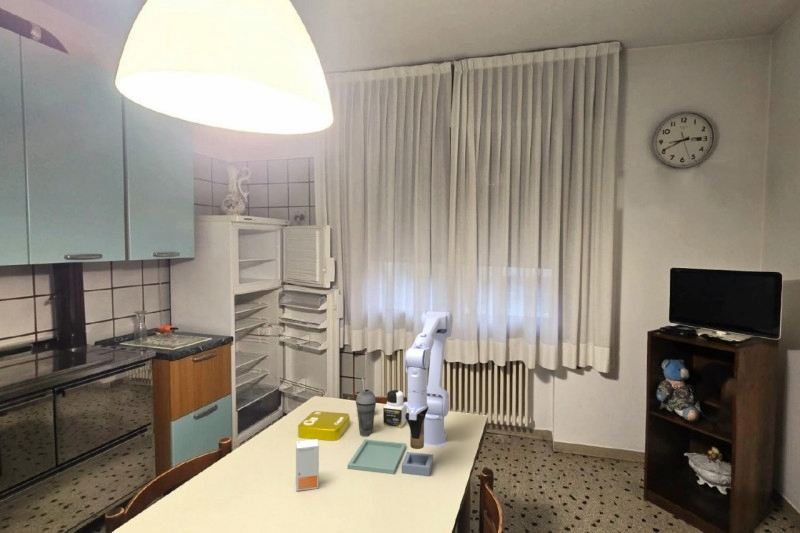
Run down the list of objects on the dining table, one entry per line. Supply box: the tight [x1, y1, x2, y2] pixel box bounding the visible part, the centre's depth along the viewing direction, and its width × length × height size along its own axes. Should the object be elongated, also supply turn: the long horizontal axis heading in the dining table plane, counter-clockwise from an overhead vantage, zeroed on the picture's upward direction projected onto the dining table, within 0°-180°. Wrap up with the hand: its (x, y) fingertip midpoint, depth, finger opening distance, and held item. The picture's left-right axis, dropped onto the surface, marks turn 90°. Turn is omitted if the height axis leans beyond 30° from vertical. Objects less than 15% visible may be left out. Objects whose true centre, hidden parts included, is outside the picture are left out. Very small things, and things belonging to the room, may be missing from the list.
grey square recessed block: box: [401, 451, 434, 477], centre depth 123 cm, size 8×8×3 cm
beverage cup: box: [355, 377, 377, 437], centre depth 147 cm, size 7×7×20 cm
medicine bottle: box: [382, 389, 408, 429], centre depth 156 cm, size 7×7×12 cm
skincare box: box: [295, 439, 320, 492], centre depth 114 cm, size 6×4×12 cm
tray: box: [347, 439, 407, 475], centre depth 129 cm, size 17×14×2 cm
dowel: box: [409, 413, 425, 450], centre depth 123 cm, size 4×4×9 cm
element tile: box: [297, 410, 351, 442], centre depth 150 cm, size 15×15×5 cm
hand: (417, 434), depth 123 cm, fingers closed on dowel, 4 cm apart
